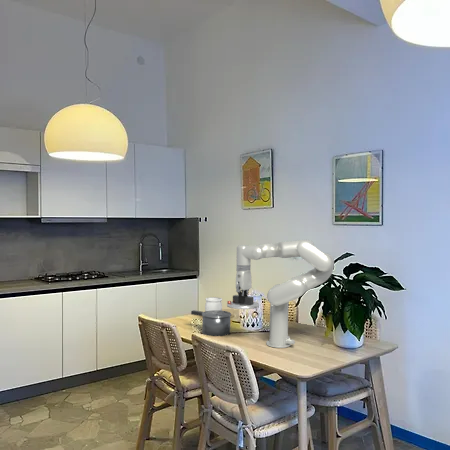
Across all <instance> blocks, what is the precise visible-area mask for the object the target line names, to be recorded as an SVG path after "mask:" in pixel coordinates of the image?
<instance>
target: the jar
mask: <svg viewBox="0 0 450 450" xmlns="http://www.w3.org/2000/svg"><path fill="white" fill-rule="evenodd" d="M222 302H223V298H222V297H218V296H217V297H216V296H215V297H214V296H213V297H212V296H210V297H205V306H204V312H205V311H211V310H220V311H223V303H222Z"/></svg>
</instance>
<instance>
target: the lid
mask: <svg viewBox="0 0 450 450" xmlns="http://www.w3.org/2000/svg"><path fill="white" fill-rule="evenodd" d="M238 300H239V296H238V294H234V295H232V301H231V300H227V301H226V302H227V303H226V306H227V308H230V309H235V310H254V309H257V308H259V307H260V303H258V302H257V301H254V296H249V295H248V296H244V303H239V302H238Z"/></svg>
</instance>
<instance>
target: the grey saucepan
mask: <svg viewBox="0 0 450 450" xmlns="http://www.w3.org/2000/svg"><path fill="white" fill-rule="evenodd" d="M190 311H191V312H190V314H191V315H193V316H199V317H202V324H201V325H202V329H201V331H202V334H203V335H205V336H208V337H209V336H210V337H225V336H228V335H230V334H231V316H232V313H231V312H230V311H226V310H222V311H220V310H211V311H205V310H204V311H200V310H196V309H195V310H190Z"/></svg>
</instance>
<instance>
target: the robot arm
mask: <svg viewBox="0 0 450 450" xmlns="http://www.w3.org/2000/svg"><path fill="white" fill-rule="evenodd" d="M266 258H267V259H268V258H281V259H291V258H302V260H304V261H305V262H307V263H308V264H309V265H311V266H312V267H314V268H313V269H311V270H309V271H307V272H304V273H302V274H299V275H298V276H297V275H296V276H294V277H292V278H291V279H289V280H287V281H284V282H282V283H278V284H275V285H273V286H272V287H271V288H270V289H269V290H268V292H267V293H266V296H267V297H266V298H267V301H268V303H269V304H270V307H269V340H266V346H268V347H271V348H277V349H284V348H289V347H291V346H292V345H294V346H295V343H296V341H295V339H291V337H290V335H289V306H290V305H289V304H290V302H291V301H293V300H296V299H298V298H300V297H301V296H303V295H304V294H305V293H306V292H307V291H309V290H312V289H314V288H315V287H318V286H319V285H322V284H323V283H325V282H327V281H328V279H330V277H331V276H332V274H333V272H334V267H335V260H334V258H333V256H332V255H331V254H329V253H325V252H323V251H322V250H320V249H319V248H318V247H317V246H315V244H314V242H313V241H312V240H310V239H301V240H300V239H299V240H298V239H297V240H289V241H288V240H287V241H281V242H275V243H274V242H273V243H264V244H261V243H260V244H256V245H249V244H248V245H247V244H239V245H237V246H236V265H235V266H236V267H235V268H236V275H235V289H236V290H235V292H236V293H237V295H238V296H239V300H238V302H239V303H244V296H249V291H250V290H251V289H252V288H253V287H252V283H253V282H252V281H253V280H252V272H251V269H252V268H251V264H252V263H251V260H255V261H258V260H261V259H266Z"/></svg>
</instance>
